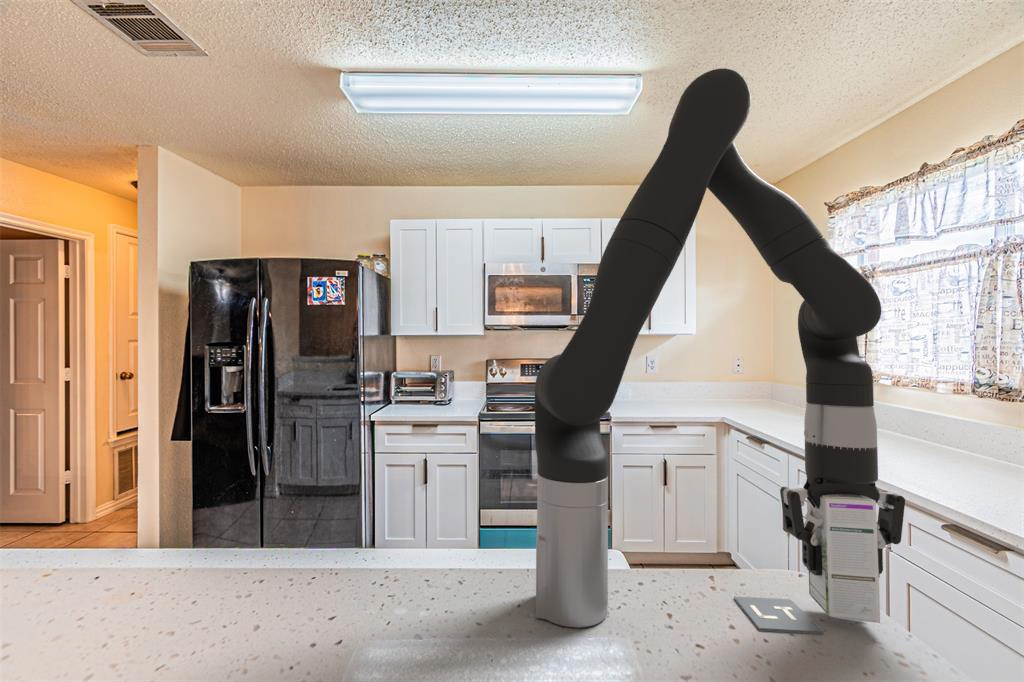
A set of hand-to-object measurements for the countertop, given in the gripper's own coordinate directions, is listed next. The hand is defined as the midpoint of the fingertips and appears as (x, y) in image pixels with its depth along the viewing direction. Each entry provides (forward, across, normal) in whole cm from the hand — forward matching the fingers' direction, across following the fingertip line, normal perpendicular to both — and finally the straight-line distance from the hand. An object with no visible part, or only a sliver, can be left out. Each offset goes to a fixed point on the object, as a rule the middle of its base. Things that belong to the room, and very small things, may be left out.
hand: (842, 573), depth 57 cm
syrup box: (+5, 0, 0) cm, 5 cm away
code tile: (+6, -8, 0) cm, 10 cm away
